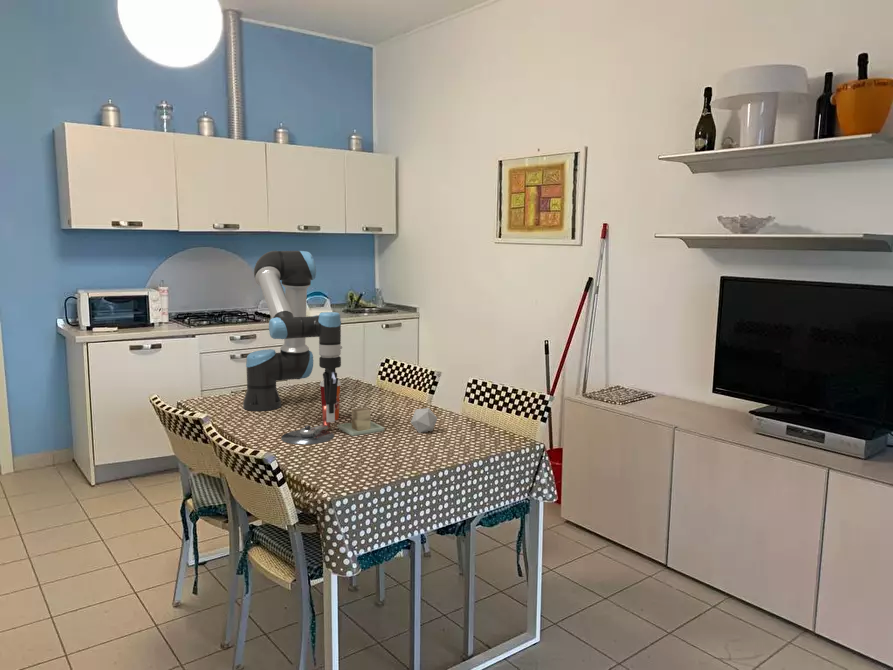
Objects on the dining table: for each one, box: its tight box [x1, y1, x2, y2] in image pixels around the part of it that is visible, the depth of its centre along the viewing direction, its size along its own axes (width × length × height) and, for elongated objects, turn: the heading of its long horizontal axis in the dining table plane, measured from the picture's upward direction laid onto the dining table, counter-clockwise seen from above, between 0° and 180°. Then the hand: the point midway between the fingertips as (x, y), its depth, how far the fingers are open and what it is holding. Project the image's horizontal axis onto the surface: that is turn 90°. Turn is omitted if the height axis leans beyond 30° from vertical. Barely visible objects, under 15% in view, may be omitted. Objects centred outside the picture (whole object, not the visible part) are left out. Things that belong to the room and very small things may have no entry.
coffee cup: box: [319, 379, 342, 421], centre depth 259 cm, size 8×8×15 cm
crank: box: [299, 404, 331, 437], centre depth 238 cm, size 14×5×9 cm, turn 150°
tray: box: [337, 420, 385, 437], centre depth 245 cm, size 13×13×2 cm
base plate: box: [280, 425, 335, 446], centre depth 235 cm, size 18×18×4 cm
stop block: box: [351, 407, 371, 431], centre depth 245 cm, size 5×5×7 cm
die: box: [410, 407, 438, 434], centre depth 244 cm, size 8×9×10 cm
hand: (330, 421), depth 240 cm, fingers closed
